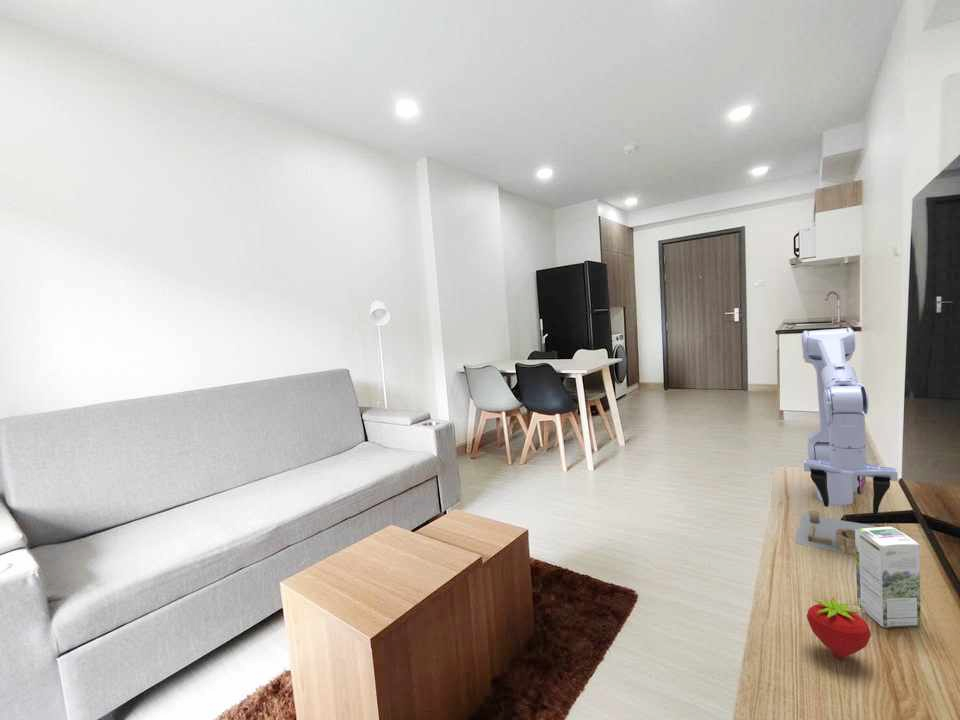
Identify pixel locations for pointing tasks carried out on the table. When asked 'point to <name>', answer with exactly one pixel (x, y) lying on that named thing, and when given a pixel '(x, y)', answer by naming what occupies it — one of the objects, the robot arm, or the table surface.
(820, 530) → the board
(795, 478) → the table surface
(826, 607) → the strawberry
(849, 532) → the end peg
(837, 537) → the ring
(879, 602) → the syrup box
